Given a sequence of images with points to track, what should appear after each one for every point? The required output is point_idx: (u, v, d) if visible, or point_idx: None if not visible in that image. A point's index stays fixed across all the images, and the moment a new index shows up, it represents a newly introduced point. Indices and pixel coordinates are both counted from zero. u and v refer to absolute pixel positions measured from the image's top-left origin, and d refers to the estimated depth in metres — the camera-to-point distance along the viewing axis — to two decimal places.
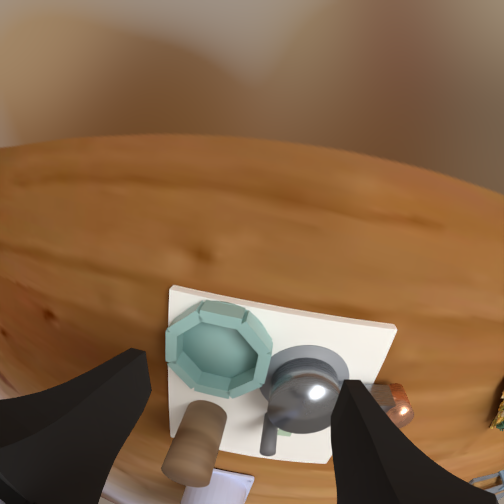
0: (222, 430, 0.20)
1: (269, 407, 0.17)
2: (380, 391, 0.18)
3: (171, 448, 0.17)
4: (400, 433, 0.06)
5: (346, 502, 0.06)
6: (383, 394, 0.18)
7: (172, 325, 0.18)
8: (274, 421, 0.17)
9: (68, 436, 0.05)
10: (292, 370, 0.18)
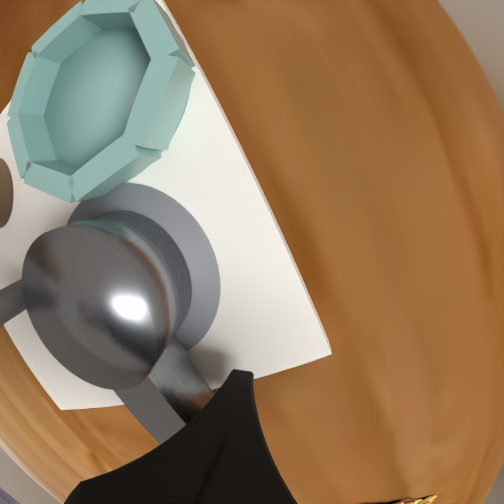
0: None
1: (38, 241, 0.06)
2: None
3: None
4: (256, 431, 0.06)
5: None
6: None
7: None
8: (25, 277, 0.07)
9: None
10: (135, 228, 0.08)
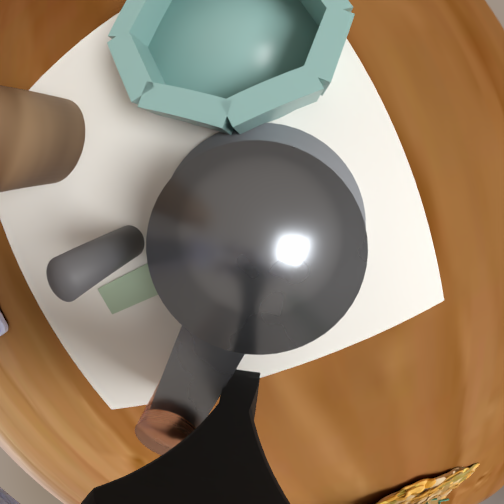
0: (42, 170, 0.08)
1: (303, 156, 0.06)
2: None
3: None
4: (250, 430, 0.06)
5: None
6: None
7: None
8: (228, 153, 0.06)
9: None
10: None
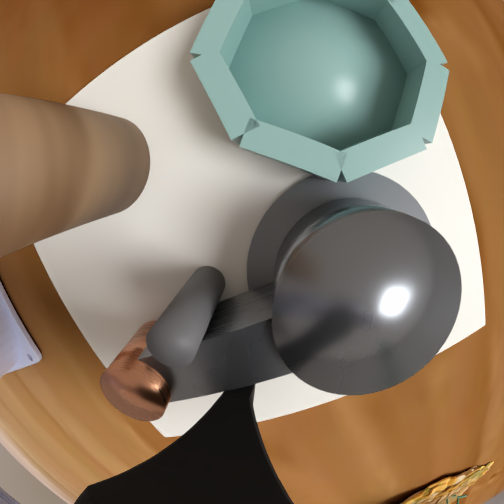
0: (107, 207, 0.08)
1: (458, 278, 0.06)
2: None
3: None
4: (253, 430, 0.06)
5: None
6: None
7: None
8: (430, 236, 0.06)
9: None
10: None
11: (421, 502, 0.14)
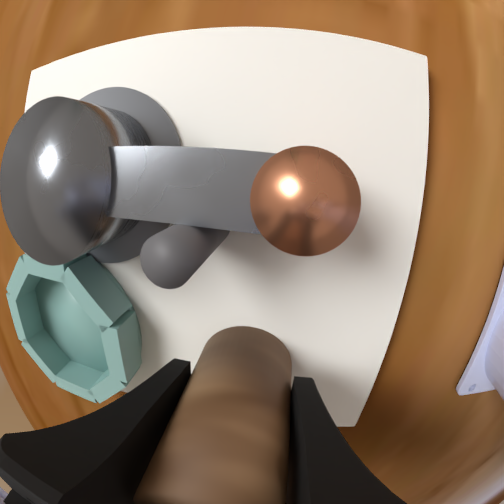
0: (226, 355, 0.09)
1: (1, 183, 0.07)
2: None
3: None
4: (339, 436, 0.06)
5: (287, 502, 0.06)
6: None
7: (48, 375, 0.11)
8: (10, 224, 0.07)
9: (126, 462, 0.05)
10: None
11: None
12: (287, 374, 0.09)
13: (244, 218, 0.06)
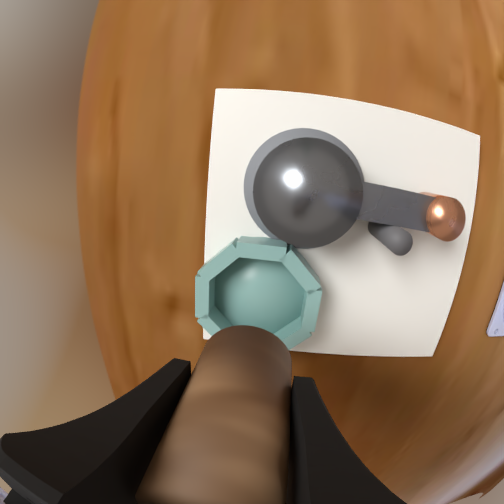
0: (226, 354, 0.09)
1: (255, 186, 0.13)
2: None
3: None
4: (338, 436, 0.06)
5: (287, 503, 0.06)
6: None
7: None
8: (265, 218, 0.13)
9: (126, 462, 0.05)
10: None
11: None
12: (287, 373, 0.09)
13: (421, 224, 0.13)
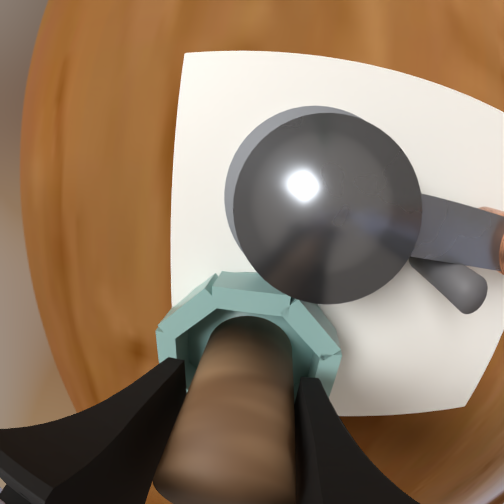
0: (233, 342, 0.10)
1: (237, 200, 0.07)
2: None
3: None
4: (347, 436, 0.06)
5: (295, 503, 0.06)
6: None
7: None
8: (255, 256, 0.08)
9: (118, 459, 0.05)
10: None
11: None
12: (289, 359, 0.10)
13: (493, 260, 0.07)
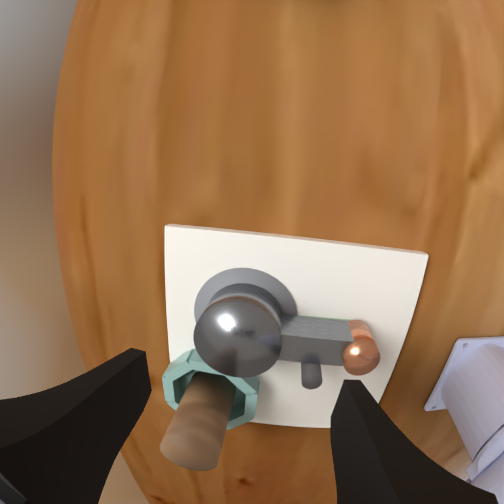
0: (199, 385, 0.18)
1: (195, 337, 0.16)
2: (335, 326, 0.17)
3: None
4: (400, 433, 0.06)
5: (346, 502, 0.06)
6: (338, 329, 0.16)
7: None
8: (204, 357, 0.16)
9: (68, 436, 0.05)
10: (221, 294, 0.17)
11: None
12: (229, 394, 0.19)
13: (337, 361, 0.16)
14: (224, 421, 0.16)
